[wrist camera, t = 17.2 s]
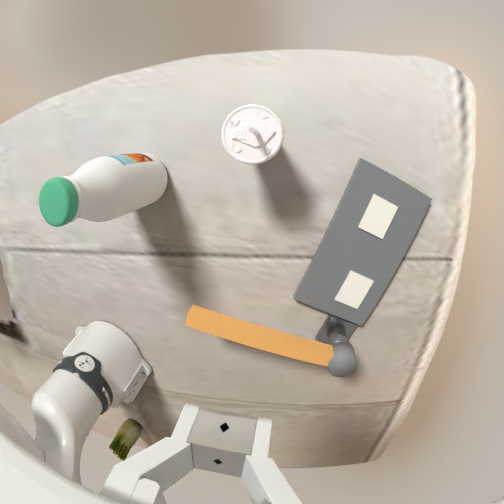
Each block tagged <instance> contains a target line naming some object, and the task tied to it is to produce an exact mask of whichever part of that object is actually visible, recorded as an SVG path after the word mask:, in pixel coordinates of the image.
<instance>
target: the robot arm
mask: <svg viewBox="0 0 504 504" xmlns="http://www.w3.org/2000/svg"><path fill="white" fill-rule="evenodd" d="M75 335H76V337H75V338H74V339H73V340H72V341H71V343H70V344H69V345H68V346H67V348H66V349H65V350H64V352H63V356H64V358H63V359H62V360H61V361H60V362H59V363H58V364H57V366H56V367H55V368H54V370H53V374H52V375H51V376H50V377H49V378H48V379H47V380H46V381H45V383H44V384H43V385H42V386H41V387H40V388H39V389H38V390H37V391H36V392H35V394H34V396H33V399H32V412H33V416H34V419H35V422H36V439H35V440H33V438H32V437H31V436H30V435H29V434H28V433H27V432H26V430H25V429H24V428H23V427H22V426H21V425H20V424H19V422H18V421H17V420H16V419H15V418H14V416H12V415H11V414H10V413H9V412H8V411H7V410H6V409H5V408H4V407H3V406H2V405H1V404H0V504H167V503H166V501H165V498H164V496H163V494H162V492H163V491H165V490H166V489H167V488H169V487H170V486H172V485H173V484H174V483H176V482H177V481H178V480H180V479H181V478H182V477H184V476H185V475H186V474H187V473H189V472H190V471H191V470H193V468H198V469H202V470H208V471H213V472H218V473H222V474H227V475H232V476H237V477H241V479H242V481H243V484H244V486H245V488H246V490H247V492H248V494H249V496H250V498H251V500H252V502H253V504H302V503H301V501H300V500H299V498H298V497H297V495H296V494H295V492H294V491H293V489H292V488H291V486H290V485H289V483H288V482H287V480H286V479H285V477H284V476H283V474H282V473H281V471H280V469H279V468H278V466H277V465H276V463H275V461H274V460H273V459H272V458H268V457H269V449H270V440H271V432H272V423H273V422H272V419H264V418H257V417H253V416H246V415H240V414H234V413H226V412H221V411H217V410H212V409H208V408H204V407H200V406H196V405H192V404H188V403H186V405H185V406H184V408H183V410H182V412H181V415H180V417H179V419H178V422H177V424H176V426H175V429H174V431H173V433H172V436H171V438H170V437H165V438H164V439H162V440H160V441H158V442H157V443H155V444H153V445H151V446H150V447H148V448H146V449H144V450H142V451H141V452H139V453H137V454H135V455H133V456H131V457H129V458H128V459H126V460H124V461H122V462H120V463H118V464H116V465H115V466H114V468H113V469H112V471H111V473H110V475H109V477H108V479H107V480H106V482H105V484H104V486H103V488H102V490H101V492H100V493H99V494H98V493H96V492H94V491H92V490H90V489H88V488H86V487H84V486H82V484H81V479H80V457H81V451H82V448H83V444H84V442H85V439H86V437H87V436H88V434H89V432H90V430H91V429H92V427H93V425H94V423H95V422H96V420H97V419H98V417H99V416H100V415H102V414H103V413H104V412H106V411H107V410H108V409H109V407H111V408H117V407H118V406H119V405H120V403H121V402H122V400H123V401H124V402H126V403H127V404H129V402H132V401H133V400H134V399H135V398H136V396H137V394H138V393H139V391H140V390H141V388H142V386H143V385H144V383H145V381H146V380H147V378H148V377H149V375H150V373H151V372H152V369H151V367H150V366H149V365H148V363H147V362H146V361H145V360H144V359H143V358H142V356H141V354H140V352H139V350H138V348H137V347H136V345H135V344H134V342H133V341H132V340H131V339H130V338H129V337H128V336H127V335H126V334H125V333H124V332H123V331H122V330H120V329H119V328H117V327H116V326H114V325H112V324H110V323H107V322H103V321H94V322H91V323H90V324H88V325H87V326H85V327H77V329H76V330H75ZM489 504H504V497H502V498H500V499H498V500H496V501H494V502H492V503H489Z"/></svg>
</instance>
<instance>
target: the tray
mask: <svg viewBox="0 0 504 504" xmlns="http://www.w3.org/2000/svg"><path fill="white" fill-rule="evenodd" d="M431 200H432V199H431V198H430V197H428V196H427V195H425V194H423V193H422V192H420V191H418V190H417V189H415V188H414V187H412V186H410V185H408V184H407V183H405V182H403V181H402V180H400V179H398V178H396V177H395V176H393V175H391V174H389V173H388V172H386V171H384V170H382V169H380V168H378V167H377V166H375V165H373V164H371V163H369V162H367V161H365V160H363V159H361V158H359V160H358V162H357V165H356V167H355V169H354V172H353V174H352V176H351V178H350V181H349V183H348V185H347V187H346V190H345V192H344V194H343V196H342V198H341V201H340V203H339V205H338V207H337V209H336V211H335V213H334V216H333V218H332V220H331V222H330V224H329V226H328V228H327V230H326V232H325V234H324V237H323V239H322V241H321V243H320V245H319V247H318V249H317V251H316V253H315V255H314V257H313V259H312V261H311V263H310V265H309V267H308V269H307V271H306V273H305V275H304V277H303V279H302V281H301V283H300V284H299V286H298V288H297V290H296V292H295V294H294V299H295V300H297V301H299V302H302V303H304V304H307V305H309V306H312V307H314V308H317V309H319V310H322V311H325V312H327V313H330V314H332V315H335V316H337V317H340V318H342V319H345V320H348V321H350V322H353V323H355V324H358V325H361V326H362V325H363V324H364V322H365V321H366V319H367V318H368V316H369V315H370V313H371V311H372V310H373V308H374V307H375V305H376V304H377V302H378V300H379V299H380V297H381V295H382V294H383V292H384V290H385V289H386V287H387V285H388V284H389V282H390V280H391V278H392V277H393V275H394V273H395V271H396V270H397V268H398V266H399V264H400V262H401V261H402V259H403V257H404V255H405V253H406V251H407V249H408V247H409V246H410V244H411V242H412V240H413V238H414V236H415V234H416V232H417V230H418V228H419V226H420V224H421V222H422V219H423V217H424V215H425V213H426V211H427V209H428V207H429V204H430V202H431Z"/></svg>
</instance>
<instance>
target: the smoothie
mask: <svg viewBox="0 0 504 504" xmlns="http://www.w3.org/2000/svg"><path fill="white" fill-rule="evenodd" d="M221 136H222V142H223V145H224V147H225V149H226V151H227V152H228V153H229V155H230V156H232V157H233V158H234V159H236V160H237V161H239V162H242V163H246V164H260V163H264V162H266V161H268V160H270V159H271V158H272V157H274V156H275V155H276V154H277V153H278V151H279V150H280V148H281V146H282V143H283V138H284V131H283V126H282V123H281V122H280V120H279V118H278V117H277V116H276V115H275V114H274V113H273V112H272V111H271V110H270V109H268V108H266V107H263V106H260V105H245V106H242V107H239V108H237V109H235V110H234V111H233V112H232V113H230V114H229V116H228V117H227V118H226V120H225V122H224V124H223V127H222V133H221Z"/></svg>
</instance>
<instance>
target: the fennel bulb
mask: <svg viewBox="0 0 504 504" xmlns="http://www.w3.org/2000/svg"><path fill="white" fill-rule="evenodd" d="M140 433H141V427H140V425H139V424H138V423H137V422H135V421H133V420H131V419H128V420H127V421H125V422H124V423H123V424H122V426H121V427H120V429H119V430H118V432H117V434H116V436H115V438H114V440H113V442H112V443H111V445H110V446H109V448H110V449H111V450H113V453H114V454H115V455H118V458H120V459H121V460H123V461H124V460H125V459H126V457H127V454H128V453H129V451H130V449H131V447H132V446H133V445H134V444H135V442H136V441H137V439H138V438H139V436H140ZM118 453H119V454H118Z"/></svg>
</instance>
